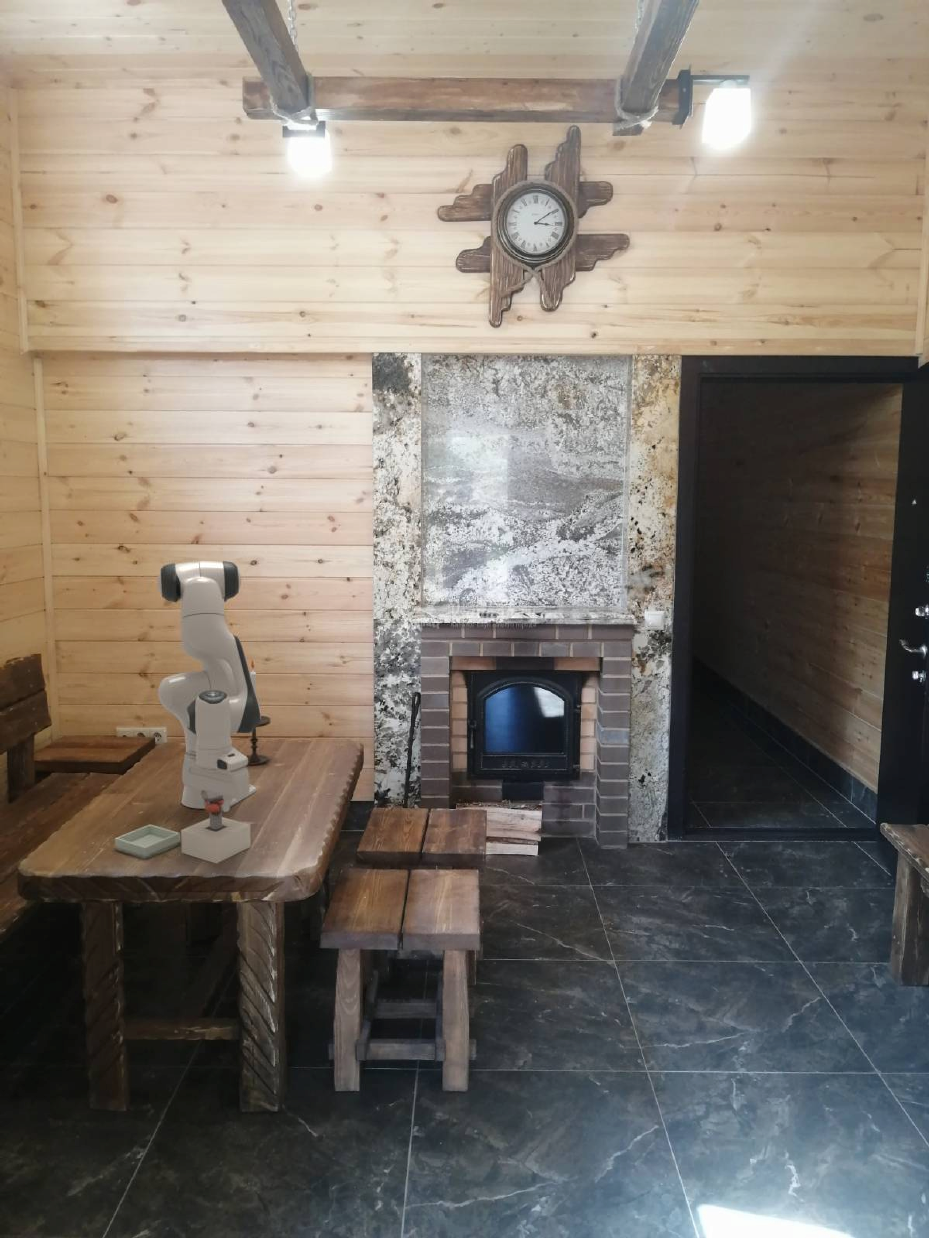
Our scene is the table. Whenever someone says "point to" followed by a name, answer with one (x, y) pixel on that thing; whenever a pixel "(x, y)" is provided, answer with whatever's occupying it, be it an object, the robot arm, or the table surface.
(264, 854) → the table surface
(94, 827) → the table surface
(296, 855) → the table surface
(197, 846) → the block
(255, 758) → the candlestick
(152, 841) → the tray
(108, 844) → the table surface
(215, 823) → the red disc rod
